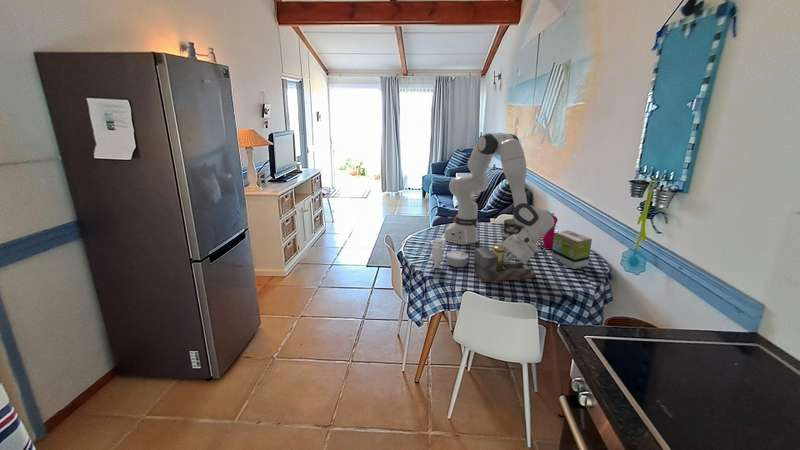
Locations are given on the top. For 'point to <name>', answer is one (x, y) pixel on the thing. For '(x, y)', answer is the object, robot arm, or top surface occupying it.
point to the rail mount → (488, 265)
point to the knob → (499, 256)
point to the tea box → (571, 249)
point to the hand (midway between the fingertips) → (504, 260)
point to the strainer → (438, 252)
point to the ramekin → (457, 258)
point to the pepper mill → (550, 235)
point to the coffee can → (510, 229)
